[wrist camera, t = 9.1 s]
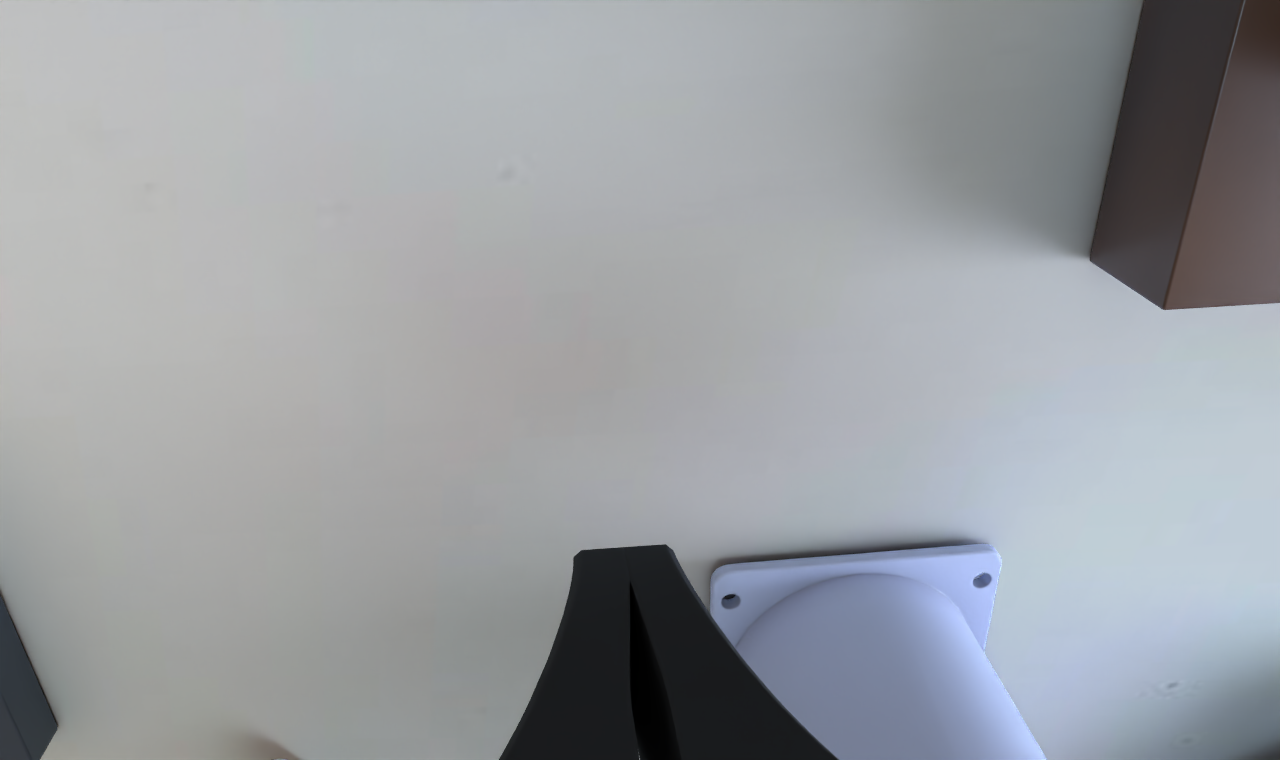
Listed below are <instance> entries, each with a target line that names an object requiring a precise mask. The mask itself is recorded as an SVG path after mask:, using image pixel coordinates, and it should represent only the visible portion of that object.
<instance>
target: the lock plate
mask: <svg viewBox="0 0 1280 760" xmlns="http://www.w3.org/2000/svg"><path fill="white" fill-rule="evenodd" d="M1090 261H1091V262H1092V263H1094V264H1095V265H1097V266H1098V267H1100V268H1101V269H1103V270H1104V271H1106V272H1107V273H1109V274H1110V275H1112V276H1113V277H1115V278H1116V279H1118V280H1119V281H1121V282H1122V283H1124V284H1125V285H1127V286H1128V287H1130V288H1131V289H1133V290H1134V291H1136V292H1137V293H1139V294H1140V295H1142V296H1143V297H1145V298H1146V299H1148V300H1149V301H1151V302H1152V303H1154V304H1155V305H1157V306H1158V307H1160V308H1161V309H1163V310H1171V309H1187V308H1203V307H1219V306H1235V305H1251V304H1267V303H1280V0H1145V2H1144V7H1143V12H1142V16H1141V21H1140V26H1139V30H1138V35H1137V40H1136V45H1135V49H1134V54H1133V59H1132V63H1131V68H1130V73H1129V78H1128V82H1127V87H1126V92H1125V96H1124V101H1123V106H1122V111H1121V115H1120V120H1119V125H1118V129H1117V134H1116V139H1115V144H1114V148H1113V153H1112V158H1111V162H1110V167H1109V172H1108V177H1107V181H1106V186H1105V191H1104V195H1103V200H1102V205H1101V209H1100V214H1099V219H1098V224H1097V228H1096V233H1095V238H1094V242H1093V247H1092V252H1091V257H1090Z"/></svg>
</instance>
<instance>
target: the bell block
mask: <svg viewBox="0 0 1280 760" xmlns="http://www.w3.org/2000/svg"><path fill="white" fill-rule="evenodd" d="M57 728H58V726H57V724H56V722H55V719H54V717H53V715H52V713H51V710H50V708H49V706H48V703H47V701H46V699H45V696H44V694H43V692H42V689H41V687H40V685H39V683H38V680H37V678H36V676H35V673H34V671H33V669H32V666H31V664H30V662H29V660H28V657H27V655H26V653H25V650H24V648H23V646H22V643H21V641H20V639H19V636H18V634H17V632H16V630H15V627H14V625H13V623H12V620H11V618H10V616H9V613H8V611H7V609H6V606H5V604H4V602H3V600H2V597H1V595H0V760H40V759H41V757H42V755H43V753H44V752H45V750H46V748H47V746H48V745H49V743H50V741H51V739H52V738H53V736H54V734H55V732H56V731H57Z"/></svg>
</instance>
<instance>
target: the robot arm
mask: <svg viewBox="0 0 1280 760" xmlns="http://www.w3.org/2000/svg"><path fill="white" fill-rule="evenodd" d="M1001 564H1002V560H1001V557H1000V555H999V554H998V552H997V551H996V549H995V548H994V547H993V546H991V545H989V544H971V545H959V546H946V547H934V548H921V549H909V550H897V551H884V552H872V553H860V554H847V555H835V556H823V557H810V558H798V559H785V560H773V561H761V562H748V563H736V564H727V565H723V566H721V567H719V568H718V569H716V570H715V572H714V573H713V574H712V577H711V587H710V613H709V611H708V610H707V609H706V607H705V606H704V604H703V602H702V601H701V599H700V598H699V596H698V595H697V593H696V591H695V590H694V588H693V587H692V585H691V583H690V582H689V580H688V578H687V576H686V575H685V573H684V571H683V569H682V567H681V566H680V564H679V562H678V560H677V558H676V556H675V553H674V551H673V550H672V549H671V548H669V547H668V546H667V545H666V544H665V545H651V546H636V547H622V548H607V549H593V550H581V551H580V552H579V553H578V554H577V555H576V556H574V563H573V575H572V581H571V586H570V591H569V595H568V599H567V603H566V606H565V610H564V614H563V617H562V620H561V623H560V626H559V629H558V632H557V635H556V638H555V641H554V643H553V646H552V649H551V652H550V655H549V657H548V660H547V662H546V665H545V667H544V669H543V672H542V674H541V676H540V679H539V681H538V683H537V685H536V688H535V690H534V692H533V695H532V697H531V699H530V701H529V704H528V706H527V708H526V710H525V712H524V714H523V716H522V718H521V720H520V722H519V724H518V726H517V728H516V730H515V732H514V733H513V735H512V737H511V739H510V741H509V743H508V744H507V746H506V748H505V750H504V752H503V753H502V755H501V757H500V759H499V760H639V756H640V760H1047V759H1046V757H1045V755H1044V754H1043V752H1042V750H1041V749H1040V747H1039V745H1038V743H1037V742H1036V740H1035V738H1034V737H1033V735H1032V733H1031V732H1030V730H1029V728H1028V726H1027V725H1026V723H1025V721H1024V720H1023V718H1022V716H1021V715H1020V713H1019V711H1018V709H1017V708H1016V706H1015V704H1014V703H1013V701H1012V699H1011V698H1010V696H1009V694H1008V692H1007V691H1006V689H1005V687H1004V686H1003V684H1002V682H1001V681H1000V679H999V677H998V675H997V674H996V672H995V670H994V669H993V667H992V665H991V664H990V662H989V660H988V658H987V657H986V655H985V653H984V650H985V645H986V640H987V635H988V630H989V625H990V620H991V615H992V610H993V605H994V600H995V595H996V590H997V585H998V580H999V575H1000V569H1001ZM981 573H984V574H983V575H982V576H981V577H980V578H976V579H974V578H975V577H976V576H977V575H978V574H981ZM729 594H736V596H735V597H734V598H732V599H728V600H727V599H722V598H724V597H725V596H726V595H729ZM638 752H639V754H638Z"/></svg>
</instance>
